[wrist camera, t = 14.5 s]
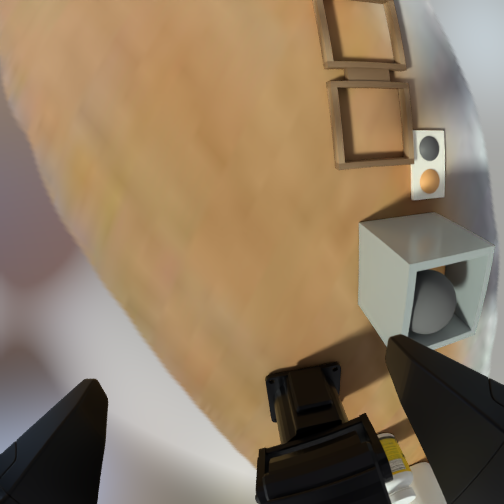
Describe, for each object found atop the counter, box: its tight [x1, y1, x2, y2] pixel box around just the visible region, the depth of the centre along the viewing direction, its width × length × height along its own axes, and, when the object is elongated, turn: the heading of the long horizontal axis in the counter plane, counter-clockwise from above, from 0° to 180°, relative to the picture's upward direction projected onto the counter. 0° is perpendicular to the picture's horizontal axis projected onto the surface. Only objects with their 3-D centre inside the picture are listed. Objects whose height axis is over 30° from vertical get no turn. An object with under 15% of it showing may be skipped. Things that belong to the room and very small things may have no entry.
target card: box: [411, 130, 445, 200], centre depth 20 cm, size 5×3×1 cm, turn 8°
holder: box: [312, 0, 414, 170], centre depth 17 cm, size 12×6×1 cm, turn 8°
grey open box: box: [358, 212, 495, 350], centre depth 19 cm, size 7×7×7 cm
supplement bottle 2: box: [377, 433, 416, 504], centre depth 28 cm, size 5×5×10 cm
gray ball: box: [409, 269, 456, 334], centre depth 18 cm, size 4×4×4 cm
